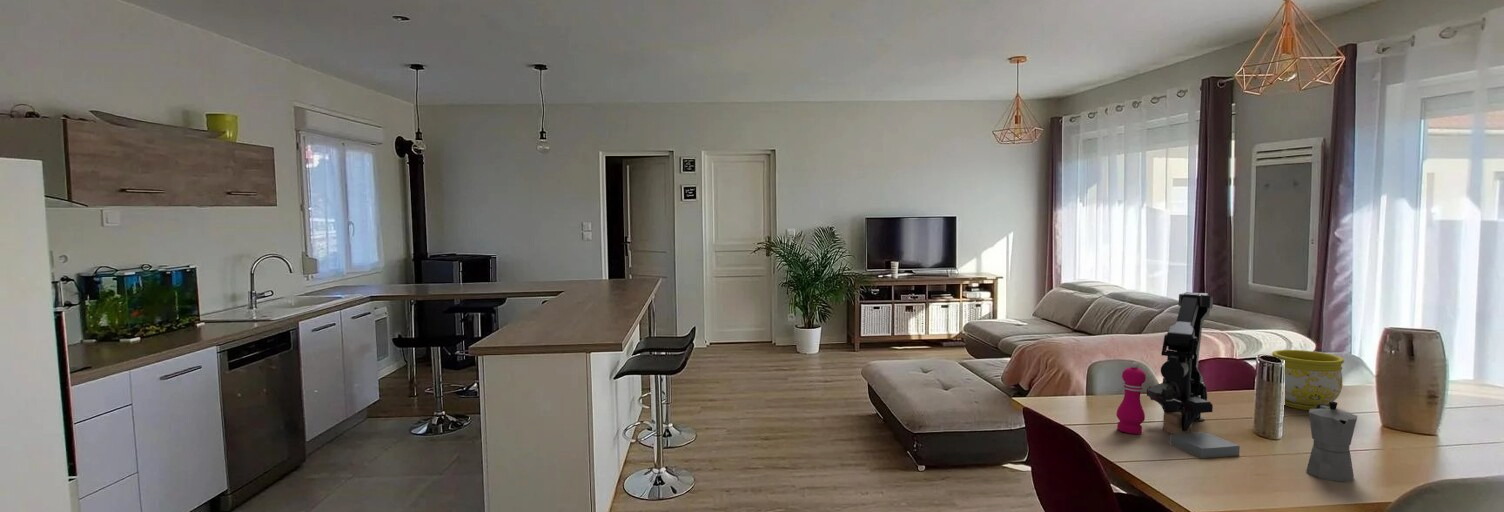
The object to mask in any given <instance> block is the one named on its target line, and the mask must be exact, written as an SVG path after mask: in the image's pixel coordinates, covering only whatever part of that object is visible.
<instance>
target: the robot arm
mask: <svg viewBox="0 0 1504 512" xmlns="http://www.w3.org/2000/svg"><path fill="white" fill-rule="evenodd" d="M1213 304H1214V297H1213V296H1210V295H1209V293H1206V292H1205V293H1204V292H1187V291H1186V292H1183V293H1178V304H1177V305H1178V307H1179V310H1178V311H1179V312H1178V315H1177V318H1176V321H1175V324H1172V325H1171V326H1169V327H1168V331H1167V333H1165V334H1164V336H1163V337H1164V338H1163V343H1162V349H1161V353H1160V354H1161V356H1162V357H1163V356H1165V357H1167V359H1166V361H1165V362H1164V363H1163V364H1162V365H1161V367H1160V374H1161V377H1163V379H1162V382H1161V383H1157V384H1155V385H1151V386H1149V387H1148V388H1147V389H1146V396H1147V397H1149V400H1151V401H1154V402H1155V403H1156V402H1157V403H1158V404H1159V405H1160V406H1161V408H1162V410H1163V414H1164V413H1167V412H1181V414H1182V431H1187V430H1188V428H1189V427H1190V425H1191V424H1192V425H1193V422H1204V421H1205V419H1206V418H1203V417H1202V416H1201V414H1202V413H1204V414H1205V413H1213V408H1214V407H1213V406H1214V405H1213V403H1212V402H1211V401H1209V400H1208V390H1207V389H1208V388H1207V387H1206V384H1205V382H1204V377H1203V375H1202V374H1201V371H1199V361H1200V360H1199V358H1200V351H1201V349H1200V348H1201V340H1202V331H1203V330H1202V329H1203V322H1204V321H1205V320H1206V319H1208V317H1209V316H1210V313H1211V312H1210V311H1211V310H1212V309H1213Z"/></svg>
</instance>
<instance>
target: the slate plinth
mask: <svg viewBox="0 0 1504 512" xmlns="http://www.w3.org/2000/svg"><path fill="white" fill-rule="evenodd" d="M1169 439H1170V440H1169V444H1170V445H1172V446H1175V447H1176V448H1179V449H1181V450H1183V451H1184V452H1188V453H1190V454H1191V455H1194V456H1197V457H1199V458H1201V459H1205V458H1206V459H1207V458H1219V457H1221V458H1222V457H1230V456H1231V457H1232V456H1233V457H1234V456H1240V451H1241V450H1240V448H1241V447H1240V445H1239V444H1236V443H1233V442H1232V441H1229V440H1226V439H1223V438H1221V437H1219V436H1216V435H1214V434H1211V433H1208V432H1204V431H1203V432H1192V433H1189V434H1170V435H1169Z"/></svg>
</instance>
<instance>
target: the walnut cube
mask: <svg viewBox="0 0 1504 512" xmlns="http://www.w3.org/2000/svg"><path fill="white" fill-rule="evenodd" d="M1162 420H1163V423H1162V424H1163V425H1162V426H1163V427H1162V430H1163V431H1165V430H1166V432H1168V433H1171V435H1175V434H1189V433H1193V423H1192V424H1191V425H1190V427H1189V428H1188V430H1187V431H1182V414H1181V412H1167V413H1164V412H1163V419H1162Z"/></svg>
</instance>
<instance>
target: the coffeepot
mask: <svg viewBox="0 0 1504 512" xmlns="http://www.w3.org/2000/svg"><path fill="white" fill-rule="evenodd" d="M1329 405H1330V408H1329V407H1328V406H1325V405H1324V404H1318V405H1317V407H1316V409H1310V410H1308V416H1309V417H1308V418H1309V422H1310V423H1309V425H1310V431H1311V439H1312V440H1313V444H1312V448H1311V450H1310V451H1311V452H1310V455H1309V459H1308V463H1307V467H1306V471H1305V472H1306V473H1308V474H1309V475H1311V476H1313V477H1315V478H1318V479H1321V480H1324V481H1325V480H1327V481H1330V482H1338V483H1339V482H1340V483H1346V482H1345V481H1350V482H1353V480H1354V477H1355V473H1354V469H1353V461H1352V458H1351V457H1352V455H1351V451H1350V446H1351V443H1352V440H1353V436H1354V432H1355V428H1356V423H1357V421H1358V420H1357V419H1358V415H1357V414H1353V413H1349V412H1346V411H1344V410H1341V409H1337V407H1338V402H1336V401H1332V402H1329Z"/></svg>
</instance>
